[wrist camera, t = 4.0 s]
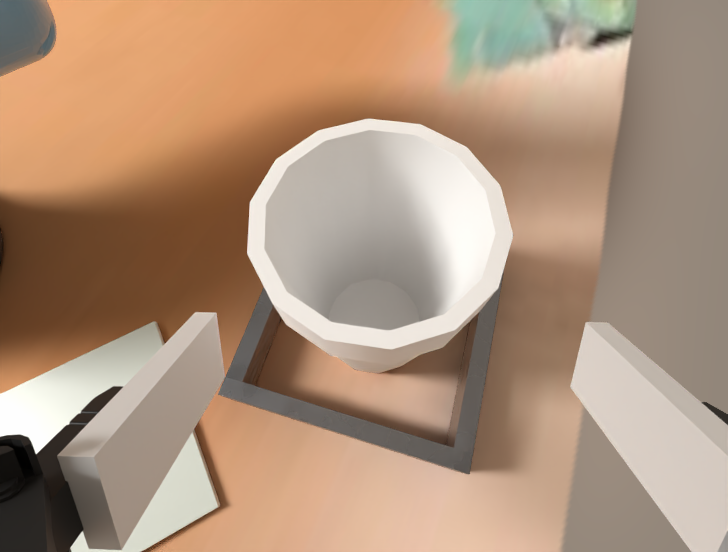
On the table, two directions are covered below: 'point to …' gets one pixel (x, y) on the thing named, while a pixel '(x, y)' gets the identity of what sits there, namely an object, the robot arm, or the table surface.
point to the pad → (79, 387)
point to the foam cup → (378, 240)
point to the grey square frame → (449, 456)
